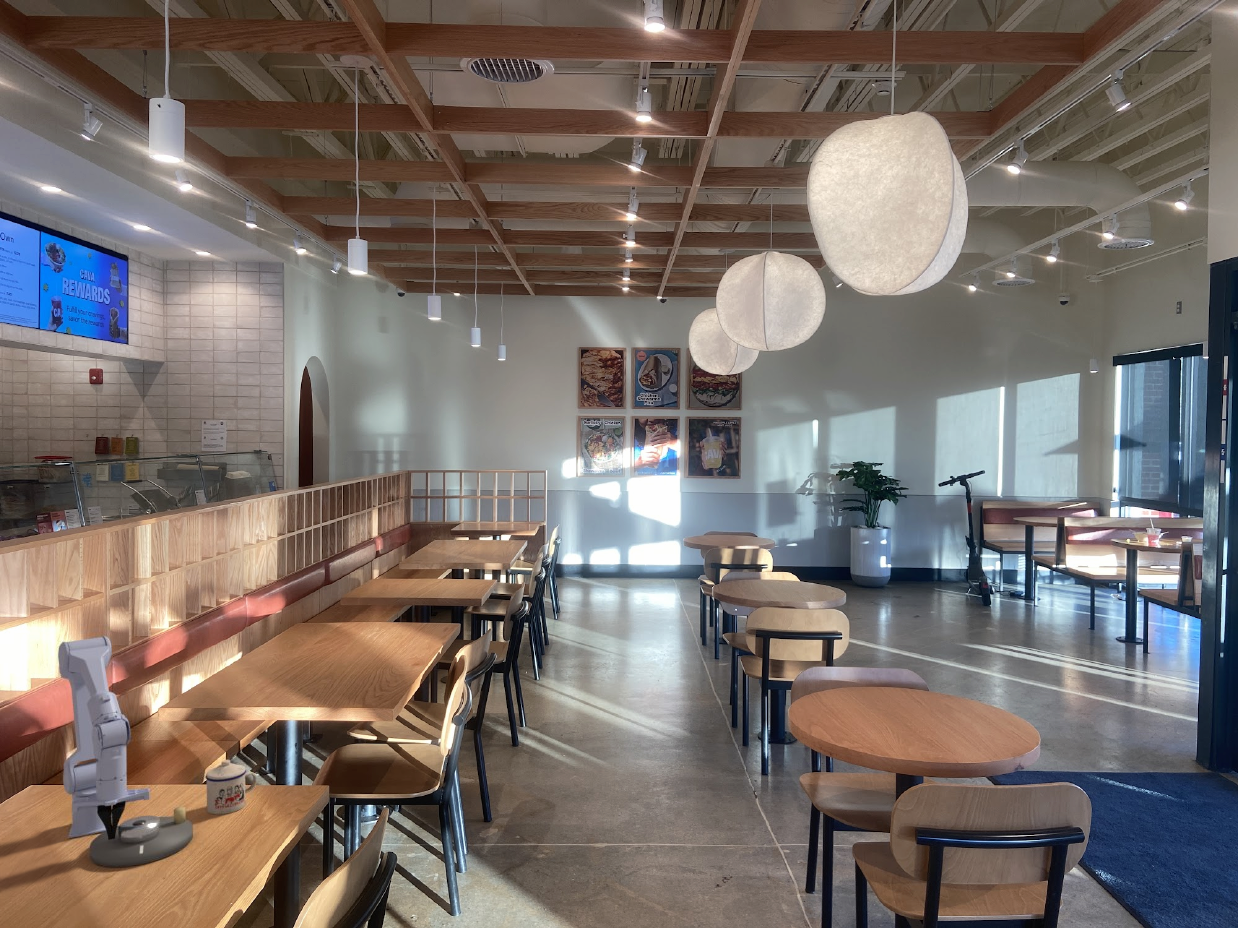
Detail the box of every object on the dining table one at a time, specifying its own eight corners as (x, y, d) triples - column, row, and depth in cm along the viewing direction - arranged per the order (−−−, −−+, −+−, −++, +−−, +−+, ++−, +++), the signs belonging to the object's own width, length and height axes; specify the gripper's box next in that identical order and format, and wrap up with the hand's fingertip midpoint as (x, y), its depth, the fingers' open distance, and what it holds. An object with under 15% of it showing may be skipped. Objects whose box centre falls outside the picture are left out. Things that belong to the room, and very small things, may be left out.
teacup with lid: (213, 818, 200) (213, 770, 200) (200, 807, 206) (200, 760, 206) (264, 804, 208) (263, 757, 208) (249, 793, 215) (249, 748, 215)
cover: (119, 832, 187) (119, 819, 187) (160, 825, 191) (160, 811, 191) (117, 847, 180) (116, 833, 180) (159, 839, 184) (159, 825, 184)
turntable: (93, 836, 190) (93, 814, 190) (192, 818, 200) (191, 797, 199) (85, 875, 172) (85, 851, 172) (193, 853, 182) (193, 830, 182)
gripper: (70, 788, 176) (70, 852, 176) (148, 775, 183) (149, 837, 183) (73, 777, 182) (74, 838, 182) (149, 765, 189) (150, 824, 189)
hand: (112, 837), depth 183 cm, fingers closed
